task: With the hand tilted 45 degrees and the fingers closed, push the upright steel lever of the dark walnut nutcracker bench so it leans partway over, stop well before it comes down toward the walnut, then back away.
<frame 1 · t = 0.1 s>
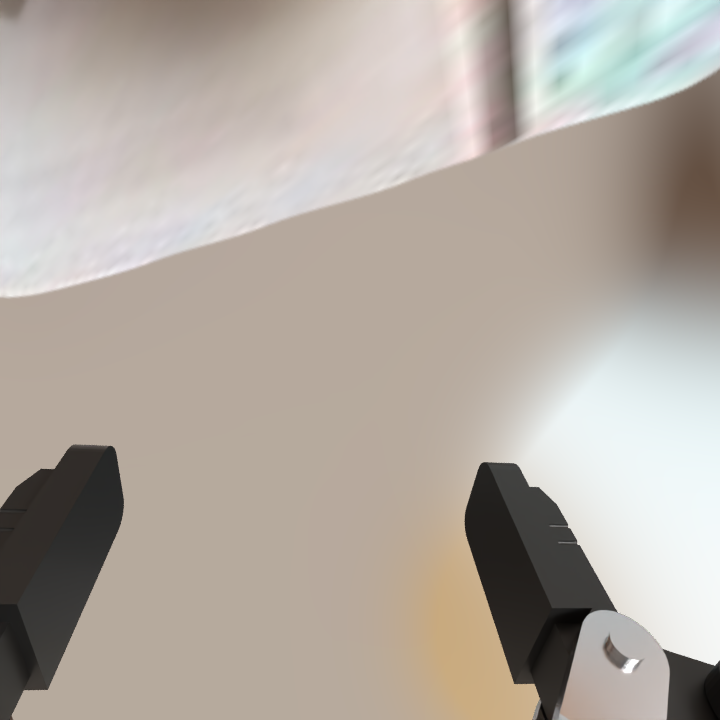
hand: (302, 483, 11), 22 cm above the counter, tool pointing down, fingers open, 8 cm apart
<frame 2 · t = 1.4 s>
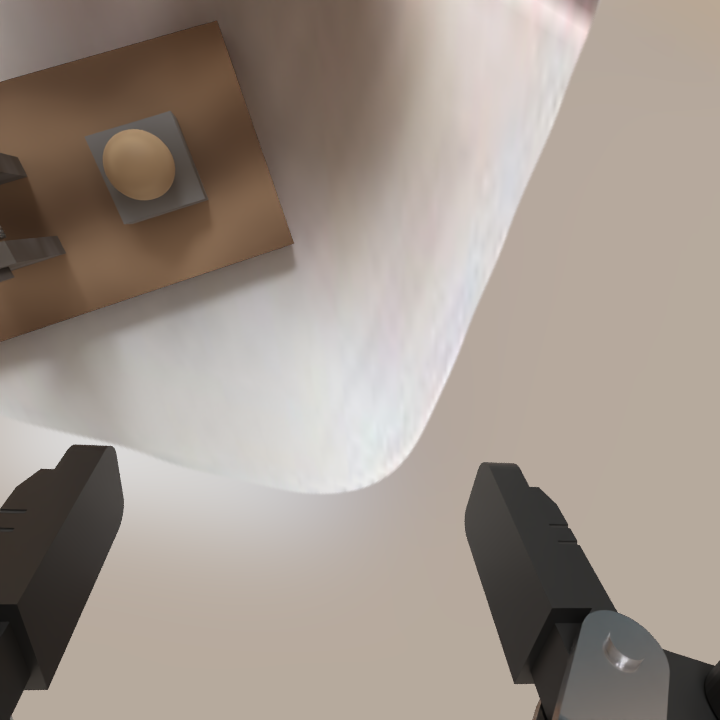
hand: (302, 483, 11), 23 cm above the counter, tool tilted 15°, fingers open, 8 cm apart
nutcracker bench: (94, 195, 29), on the counter
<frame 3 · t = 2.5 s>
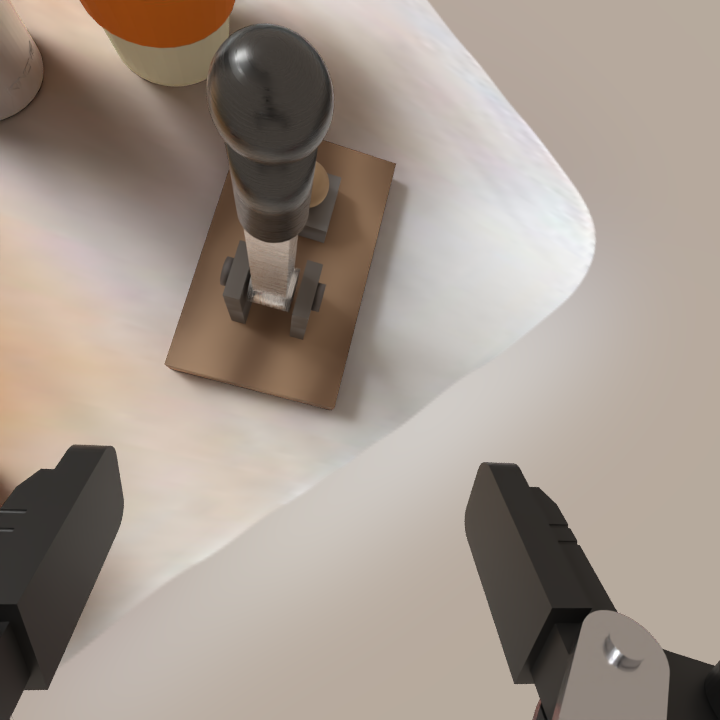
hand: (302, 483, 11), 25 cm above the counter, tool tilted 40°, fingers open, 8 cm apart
lever: (273, 224, 22), point 16 cm above the counter, hinge at 0.0°
nutcracker bench: (288, 266, 38), on the counter
reusable coffee cup: (172, 39, 40), on the counter
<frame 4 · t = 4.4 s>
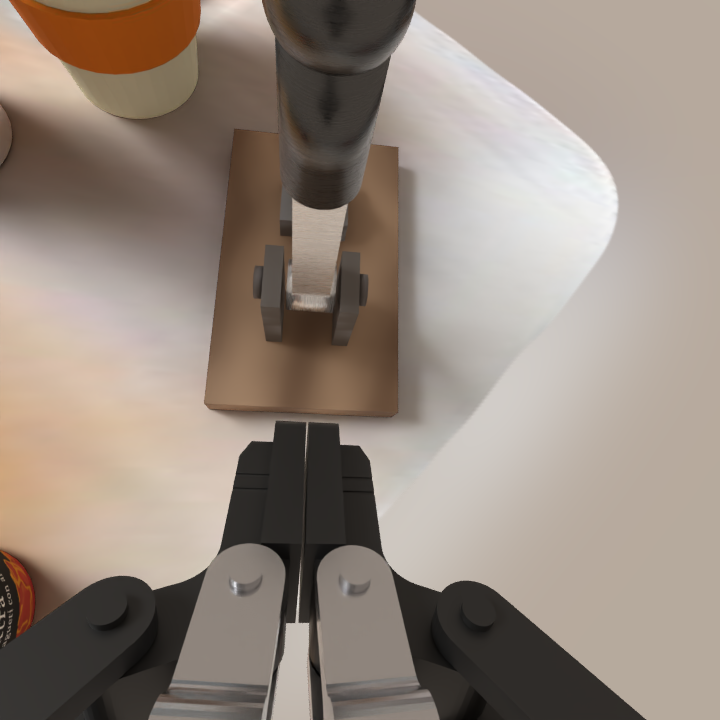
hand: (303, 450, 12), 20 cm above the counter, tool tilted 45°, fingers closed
lever: (319, 196, 19), point 16 cm above the counter, hinge at 0.0°
nutcracker bench: (310, 274, 35), on the counter
reusable coffee cup: (139, 72, 38), on the counter
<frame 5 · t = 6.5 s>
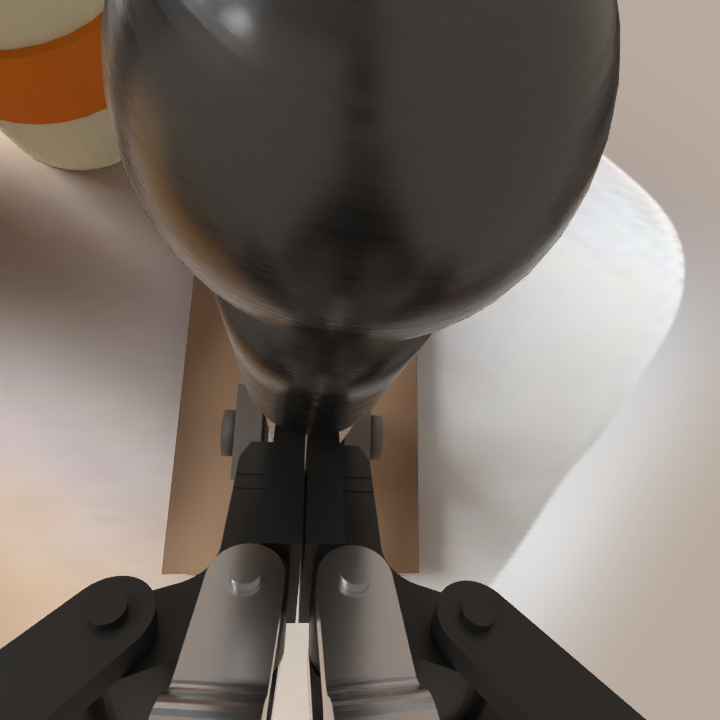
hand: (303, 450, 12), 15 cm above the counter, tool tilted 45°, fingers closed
lever: (312, 380, 12), point 16 cm above the counter, hinge at 3.3°, touching gripper
nutcracker bench: (303, 374, 27), on the counter
reusable coffee cup: (84, 107, 30), on the counter
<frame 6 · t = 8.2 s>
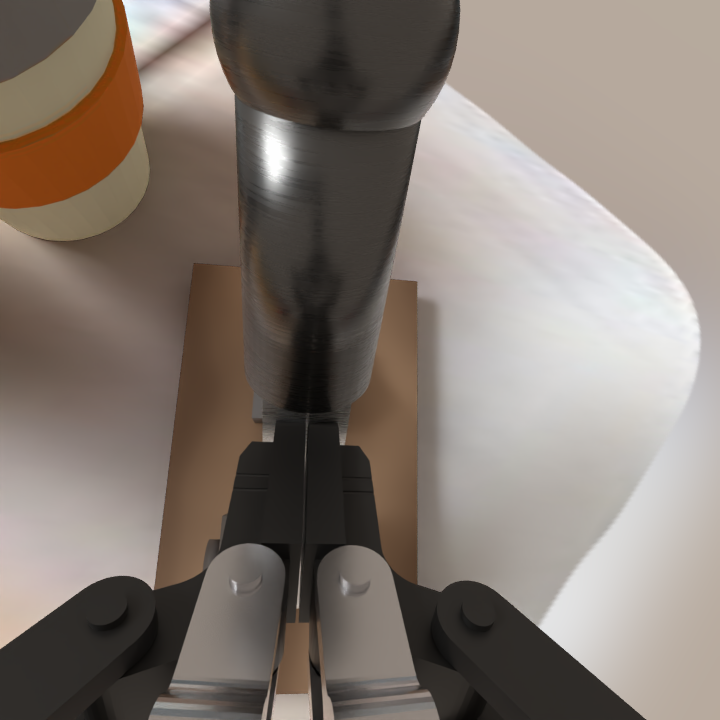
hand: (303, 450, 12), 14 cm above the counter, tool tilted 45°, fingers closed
lever: (305, 407, 13), point 14 cm above the counter, hinge at 34.8°, touching gripper
nutcracker bench: (297, 463, 26), on the counter
reusable coffee cup: (69, 172, 28), on the counter
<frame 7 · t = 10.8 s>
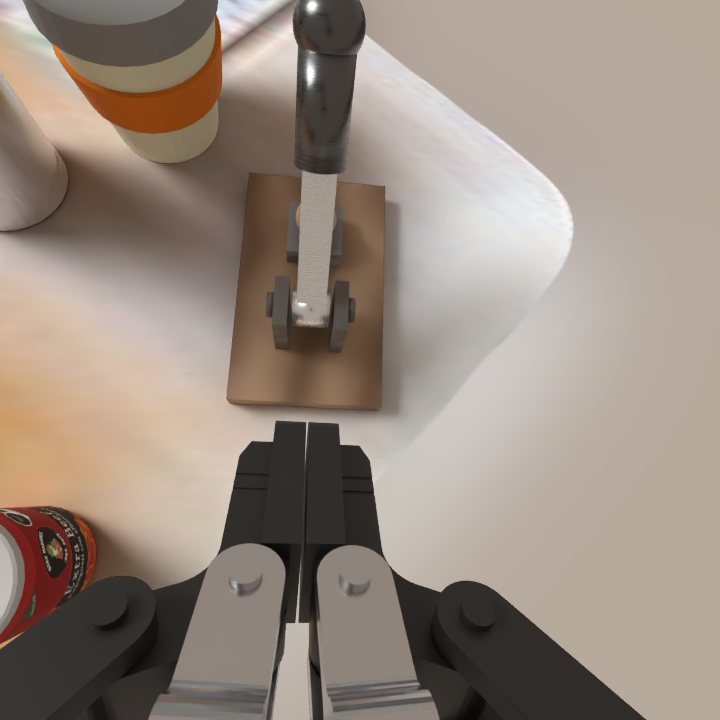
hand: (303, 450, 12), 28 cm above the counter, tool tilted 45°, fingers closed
lever: (318, 188, 29), point 14 cm above the counter, hinge at 34.8°
nutcracker bench: (311, 293, 43), on the counter
reusable coffee cup: (169, 123, 46), on the counter
canned food: (42, 560, 35), on the counter
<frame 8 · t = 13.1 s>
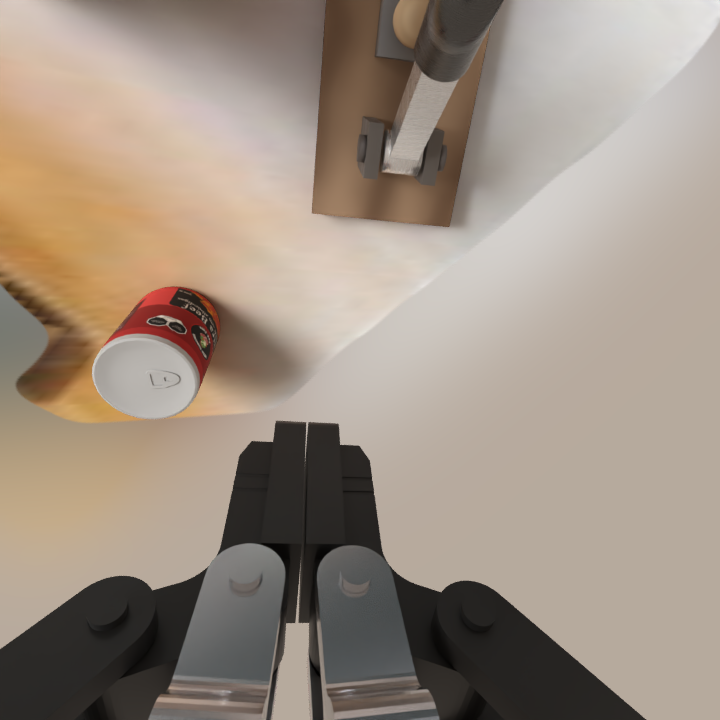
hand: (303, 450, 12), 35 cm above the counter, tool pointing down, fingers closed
lever: (434, 72, 26), point 14 cm above the counter, hinge at 34.8°
nutcracker bench: (396, 88, 39), on the counter
canned food: (180, 319, 48), on the counter
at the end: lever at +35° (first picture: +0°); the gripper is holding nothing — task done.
